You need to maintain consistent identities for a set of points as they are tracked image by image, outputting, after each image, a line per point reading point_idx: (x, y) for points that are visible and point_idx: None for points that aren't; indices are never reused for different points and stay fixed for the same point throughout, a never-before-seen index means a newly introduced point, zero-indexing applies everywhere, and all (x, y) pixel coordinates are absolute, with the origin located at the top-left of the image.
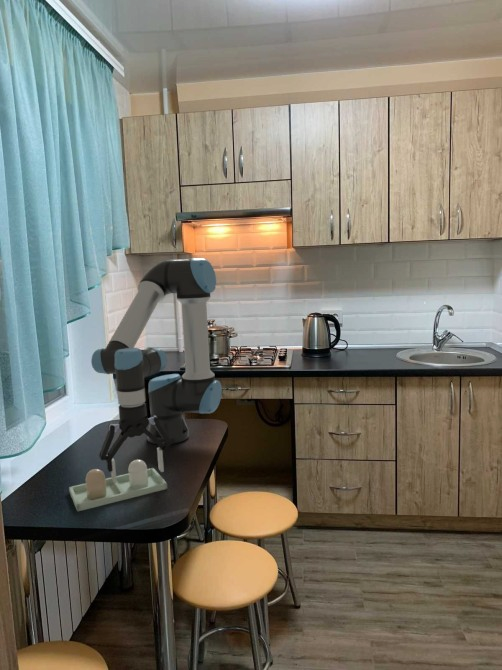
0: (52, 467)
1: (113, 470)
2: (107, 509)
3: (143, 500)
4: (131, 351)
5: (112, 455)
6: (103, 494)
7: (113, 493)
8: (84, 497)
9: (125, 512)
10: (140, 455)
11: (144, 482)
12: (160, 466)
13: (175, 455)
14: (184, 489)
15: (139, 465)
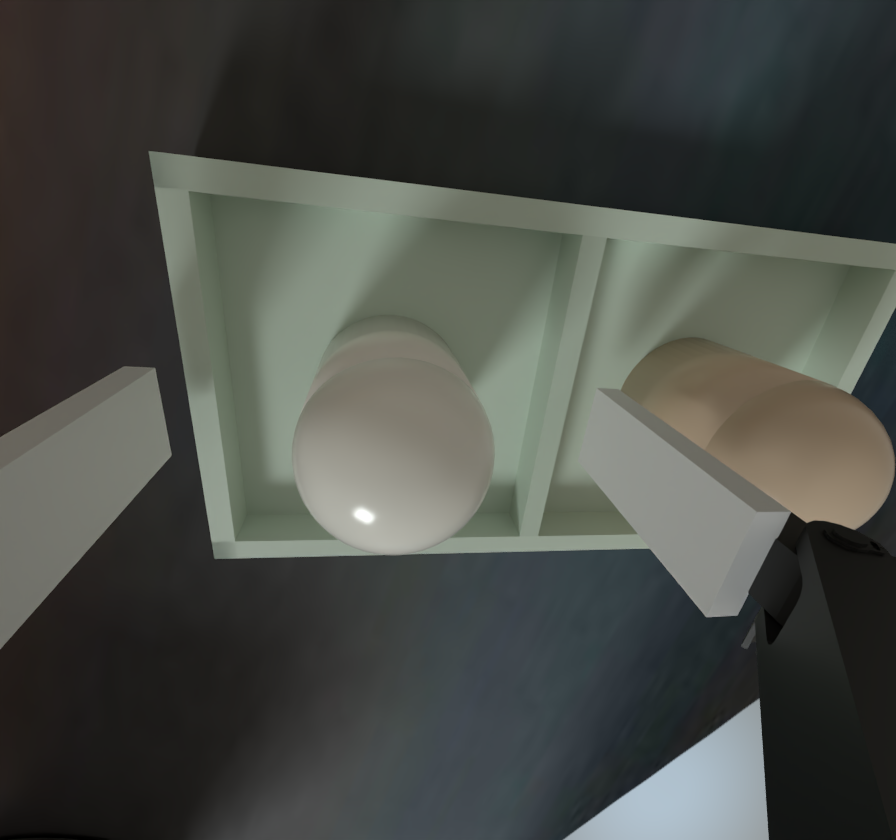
0: (629, 778)
1: (686, 443)
2: (696, 190)
3: (432, 147)
4: None
5: (855, 576)
6: (676, 351)
7: (586, 368)
8: None
9: (636, 16)
10: (248, 772)
11: (361, 330)
12: (128, 408)
13: (23, 716)
14: (2, 98)
15: (397, 408)
